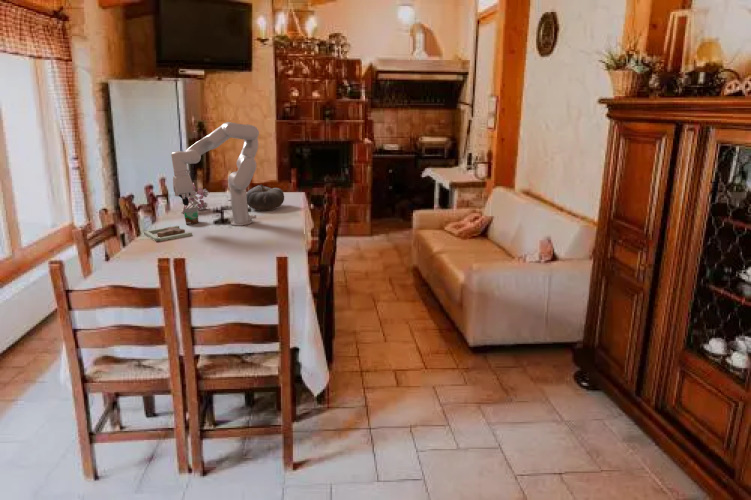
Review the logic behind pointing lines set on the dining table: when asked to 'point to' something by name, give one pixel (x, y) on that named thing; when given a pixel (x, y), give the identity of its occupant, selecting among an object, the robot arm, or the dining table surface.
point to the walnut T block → (170, 232)
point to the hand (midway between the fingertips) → (186, 204)
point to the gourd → (265, 198)
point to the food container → (191, 215)
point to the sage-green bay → (166, 236)
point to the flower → (193, 198)
